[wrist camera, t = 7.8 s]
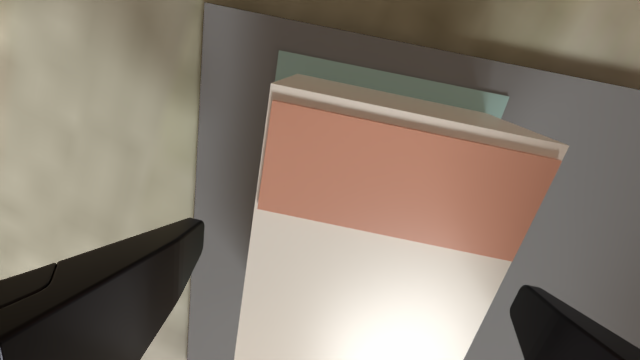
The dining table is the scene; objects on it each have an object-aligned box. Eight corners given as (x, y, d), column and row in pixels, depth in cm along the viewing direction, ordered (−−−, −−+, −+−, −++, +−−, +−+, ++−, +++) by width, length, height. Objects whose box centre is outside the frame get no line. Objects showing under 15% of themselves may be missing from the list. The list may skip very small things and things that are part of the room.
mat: (835, 130, 10) (864, 134, 10) (588, 444, 16) (597, 458, 15) (211, 5, 10) (203, 1, 9) (191, 366, 16) (185, 377, 15)
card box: (403, 327, 13) (428, 438, 9) (261, 298, 13) (228, 397, 9) (485, 113, 10) (574, 147, 6) (297, 73, 10) (269, 83, 6)
